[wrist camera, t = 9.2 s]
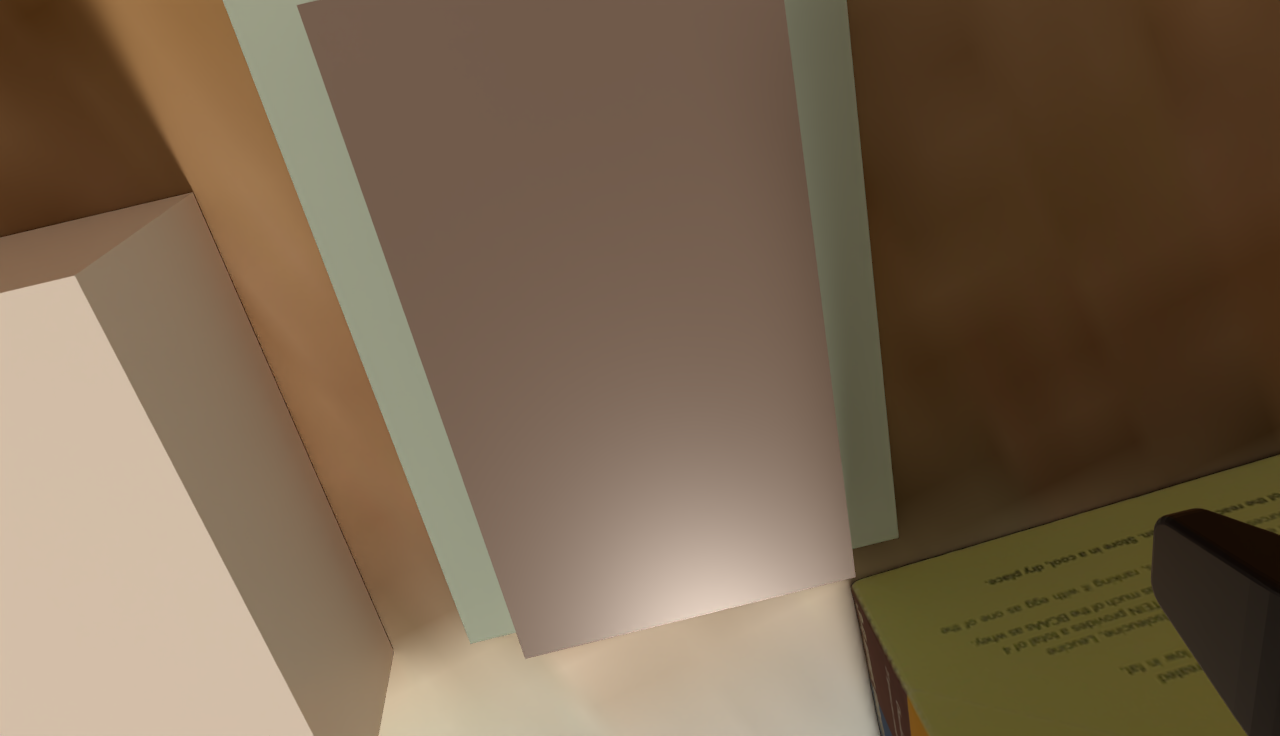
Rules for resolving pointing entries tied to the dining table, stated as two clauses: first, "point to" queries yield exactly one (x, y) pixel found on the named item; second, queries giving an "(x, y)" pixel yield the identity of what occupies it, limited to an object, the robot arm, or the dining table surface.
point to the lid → (605, 292)
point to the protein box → (1052, 627)
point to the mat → (387, 346)
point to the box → (162, 503)
